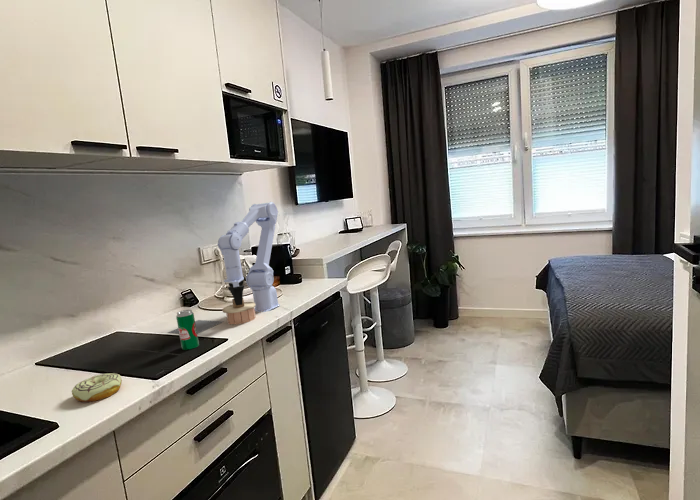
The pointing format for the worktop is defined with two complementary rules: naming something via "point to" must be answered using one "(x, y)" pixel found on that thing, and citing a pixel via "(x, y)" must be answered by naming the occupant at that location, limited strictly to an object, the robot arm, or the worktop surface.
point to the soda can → (187, 329)
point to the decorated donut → (97, 387)
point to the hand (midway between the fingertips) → (239, 302)
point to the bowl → (241, 316)
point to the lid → (238, 307)
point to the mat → (201, 325)
